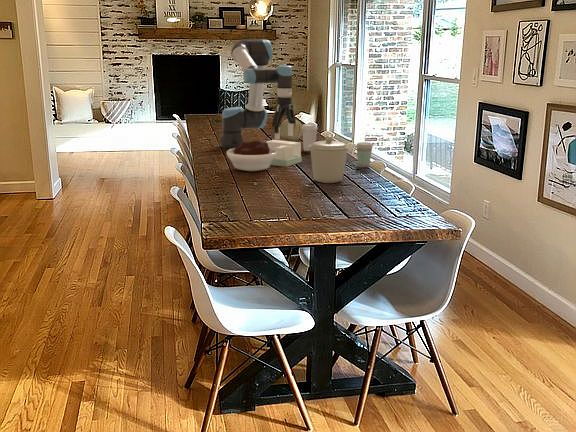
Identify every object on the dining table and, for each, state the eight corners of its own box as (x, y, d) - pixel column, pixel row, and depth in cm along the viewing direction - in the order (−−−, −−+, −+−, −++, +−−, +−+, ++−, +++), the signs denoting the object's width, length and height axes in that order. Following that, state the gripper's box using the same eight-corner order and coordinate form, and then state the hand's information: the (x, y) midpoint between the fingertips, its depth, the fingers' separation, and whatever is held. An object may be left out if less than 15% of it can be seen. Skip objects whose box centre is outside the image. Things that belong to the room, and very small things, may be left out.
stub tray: (266, 164, 328) (266, 158, 327) (281, 159, 341) (281, 153, 340) (286, 166, 322) (286, 160, 321) (301, 161, 335) (301, 156, 334)
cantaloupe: (276, 142, 398) (276, 118, 394) (284, 139, 412) (285, 116, 407) (297, 143, 393) (298, 119, 389) (306, 140, 406) (306, 117, 402)
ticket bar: (265, 155, 351) (265, 141, 349) (273, 153, 358) (273, 139, 356) (293, 159, 343) (293, 144, 340) (300, 156, 349) (300, 142, 347)
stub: (274, 162, 329) (274, 147, 327) (282, 160, 336) (282, 145, 334) (284, 163, 326) (284, 148, 324) (292, 161, 333) (292, 146, 331)
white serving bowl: (238, 176, 297) (238, 145, 293) (219, 167, 318) (218, 137, 314) (285, 172, 308) (285, 141, 304) (263, 163, 330) (263, 135, 325)
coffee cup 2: (373, 165, 326) (374, 142, 323) (369, 168, 319) (371, 145, 315) (357, 164, 329) (358, 141, 326) (353, 167, 321) (354, 144, 318)
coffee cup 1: (315, 152, 364) (316, 126, 360) (299, 151, 366) (300, 125, 362) (318, 149, 373) (319, 124, 369) (302, 148, 375) (303, 123, 371)
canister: (336, 187, 278) (337, 139, 272) (301, 182, 287) (301, 136, 281) (354, 180, 292) (355, 134, 287) (320, 175, 302) (321, 131, 296)
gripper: (278, 99, 310) (277, 141, 316) (302, 95, 330) (301, 135, 336) (265, 98, 313) (265, 140, 319) (290, 94, 334) (289, 133, 340)
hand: (283, 137), depth 328 cm, fingers open, 13 cm apart
